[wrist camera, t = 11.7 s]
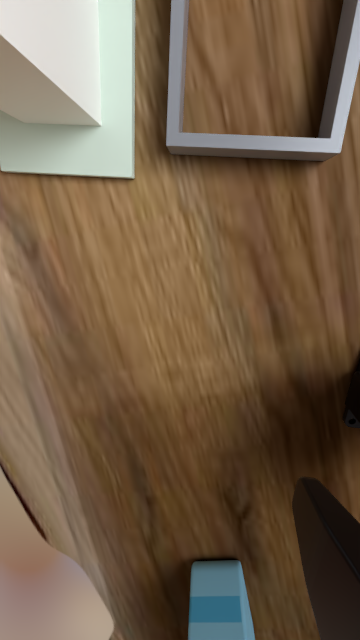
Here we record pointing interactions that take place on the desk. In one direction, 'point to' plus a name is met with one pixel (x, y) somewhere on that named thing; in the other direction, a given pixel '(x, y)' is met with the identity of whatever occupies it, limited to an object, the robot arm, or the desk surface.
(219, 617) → the data package
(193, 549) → the desk surface
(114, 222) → the desk surface
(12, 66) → the module
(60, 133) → the sage mat
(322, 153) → the grey holder tray
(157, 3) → the desk surface
